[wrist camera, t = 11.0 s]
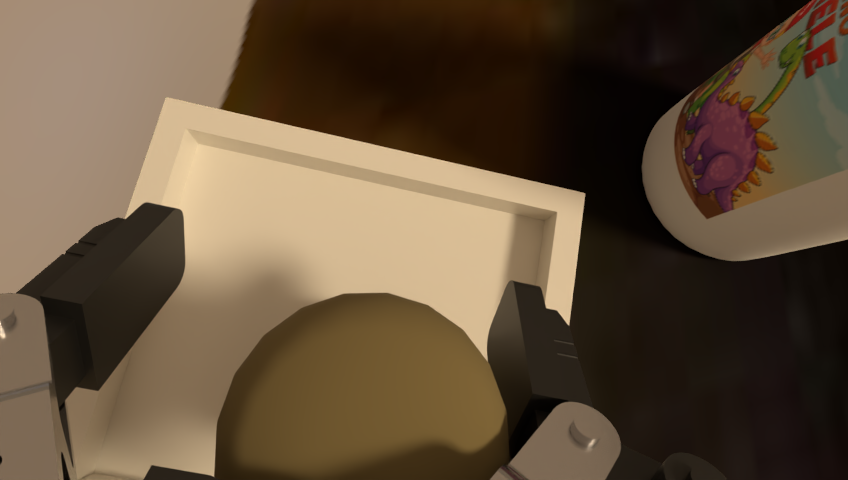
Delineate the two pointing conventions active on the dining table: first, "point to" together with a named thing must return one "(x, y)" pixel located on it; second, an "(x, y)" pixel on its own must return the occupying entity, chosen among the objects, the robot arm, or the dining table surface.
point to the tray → (303, 264)
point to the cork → (363, 398)
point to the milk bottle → (760, 146)
